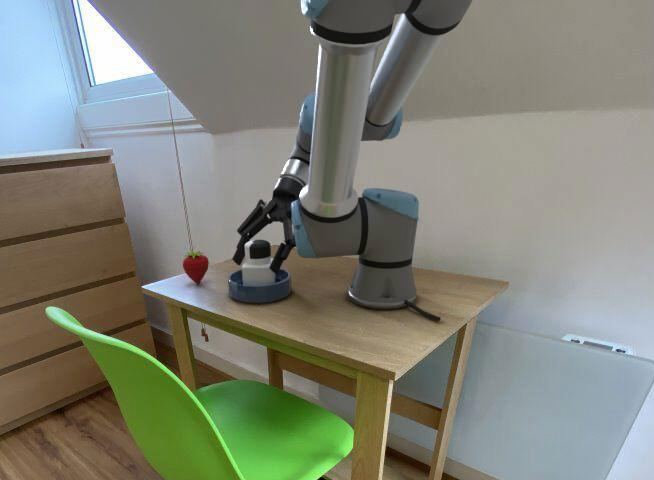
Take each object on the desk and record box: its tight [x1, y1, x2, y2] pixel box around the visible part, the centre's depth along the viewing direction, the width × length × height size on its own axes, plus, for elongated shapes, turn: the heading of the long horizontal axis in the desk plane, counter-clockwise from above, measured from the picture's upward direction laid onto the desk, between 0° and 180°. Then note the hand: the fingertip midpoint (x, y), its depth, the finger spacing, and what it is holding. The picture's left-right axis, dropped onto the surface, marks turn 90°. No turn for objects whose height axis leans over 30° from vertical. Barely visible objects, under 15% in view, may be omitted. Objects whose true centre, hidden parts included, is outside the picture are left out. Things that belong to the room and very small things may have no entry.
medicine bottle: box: [241, 239, 276, 286], centre depth 104 cm, size 7×7×12 cm
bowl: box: [227, 267, 292, 304], centre depth 106 cm, size 15×15×4 cm
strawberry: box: [182, 247, 210, 285], centre depth 113 cm, size 6×8×10 cm
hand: (254, 266), depth 102 cm, fingers open, 11 cm apart
